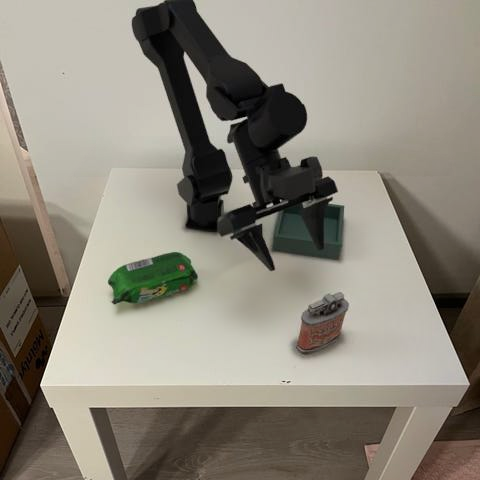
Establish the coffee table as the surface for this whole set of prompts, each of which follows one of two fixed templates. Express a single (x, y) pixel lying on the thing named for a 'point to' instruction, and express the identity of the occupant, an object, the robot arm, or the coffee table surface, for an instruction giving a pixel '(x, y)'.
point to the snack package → (152, 278)
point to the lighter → (322, 323)
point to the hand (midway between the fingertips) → (297, 260)
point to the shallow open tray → (298, 238)
